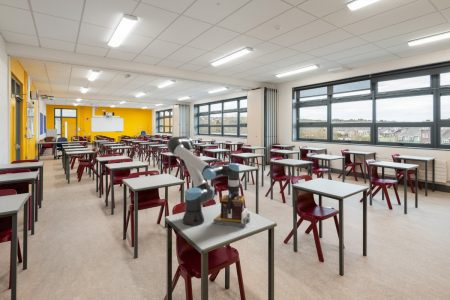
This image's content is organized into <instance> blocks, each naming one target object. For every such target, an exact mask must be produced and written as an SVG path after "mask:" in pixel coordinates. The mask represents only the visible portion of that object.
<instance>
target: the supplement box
mask: <svg viewBox="0 0 450 300" xmlns="http://www.w3.org/2000/svg"><path fill="white" fill-rule="evenodd" d="M228 195H229V194H224V195H223V196H222V197H221V198H220V213H221V220H223V221H234V222H241V221H242V212H243V211H244V210H245V196H244V195H239V196H237V197H235V199H232V201H233V204H232V208H231V209H232V218H228V209H227V202H228Z"/></svg>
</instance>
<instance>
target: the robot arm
mask: <svg viewBox="0 0 450 300" xmlns="http://www.w3.org/2000/svg"><path fill="white" fill-rule="evenodd" d="M166 145H167V146H166V147H167V150H168V152H170V153H171V154H172V156H174V157H178V158H179V159H182V160H183V163H184V165H185V167H186V169H187V171H188V173H189V176H190V178H191V181H192V183H193V187H189V188H188V189H186V190H185V192H184V210H185V211H184V213H183V217H182V223H183V224H184V226H185V225H186V226H194V227H195V226H198V225H199V226H200V225H202V224H203V223H205V218H204V214H203V209H202V206H203V204H205V203H208V202H209V201H211V200H213V198H214V196H215V189H214V188H213V186H212V185H210V184H209V183H208V182H209V181H210V180H214V179H217V178H220V177H228V178H227V180H228V181H227V185H228V187H227V190H228V192H229V194H227V195H228V202H227V209H228V218H232V209H231V208H232V204H233V201H232V199H235V197H237V196H240V195H239V189H240V165H239V163H237V162H236V163H235V162H230V163H228V165H224V164H223V165H222V164H215V165H213V166H212V165H210V164H209V163H208V162H206V161H205V160H203V159H201V158H200V157H198V156H197V155H196V154H194V153H193V152H194V145H195V144H194V141H193V139H192V138H191V137H190V136H185V135H183V136H173V137H171V138H169V140H167V143H166ZM206 180H207V181H206Z"/></svg>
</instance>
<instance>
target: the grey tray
mask: <svg viewBox="0 0 450 300" xmlns="http://www.w3.org/2000/svg"><path fill="white" fill-rule="evenodd" d="M247 217H248V218H250V219H247V222H246V218H244V224H242V223H241V222H234V221H223V220H221V212H220V213H218V215H217V216H215V217H214V218H213V220H212V221H213V224H220V225H224V226H231V227H236V228H237V227H238V228H242V229H243V228H244V229H245V228H246V227H247V224H248V223H250V221H251V216H250V213H248V214H247Z"/></svg>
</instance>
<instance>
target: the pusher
mask: <svg viewBox="0 0 450 300" xmlns="http://www.w3.org/2000/svg"><path fill="white" fill-rule="evenodd" d="M248 212H249V210H248V208H247V207H246V208H244V211H243V212H242V221H241V223H242V224H244V218H246V222H247V219H250V220H251V217H250V218H248V217H247V214H248Z"/></svg>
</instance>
